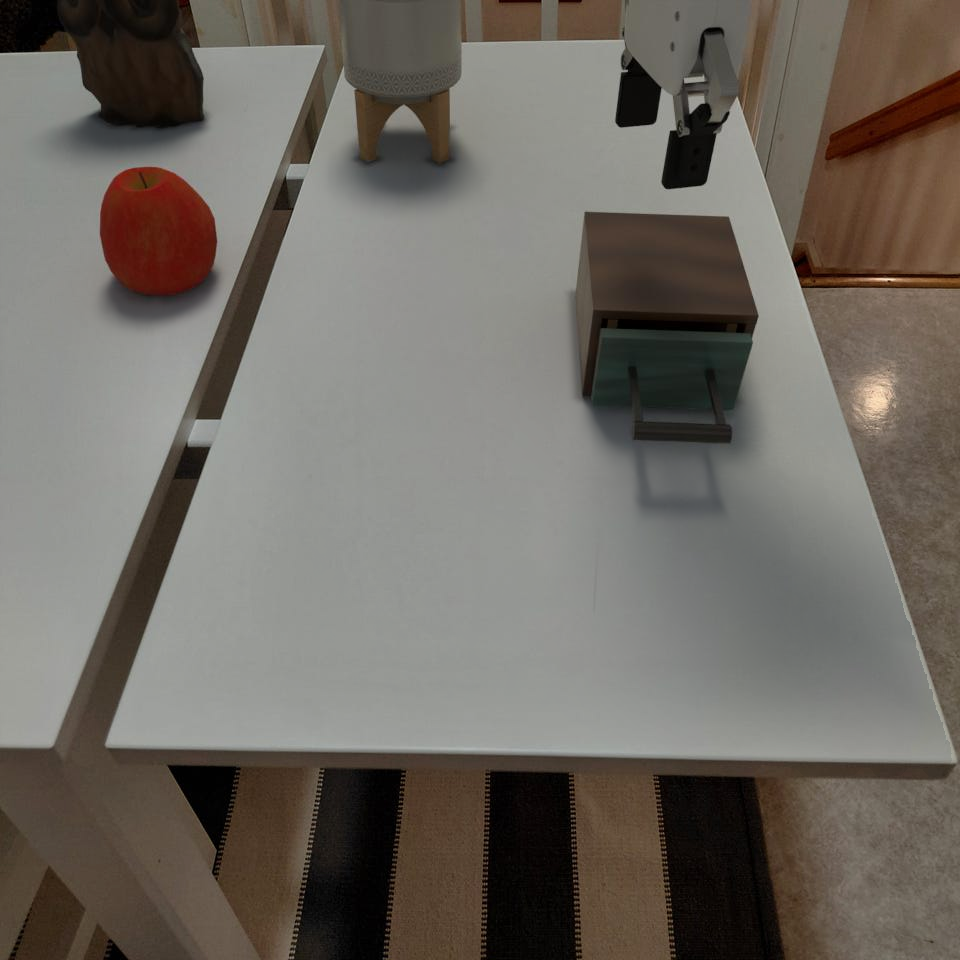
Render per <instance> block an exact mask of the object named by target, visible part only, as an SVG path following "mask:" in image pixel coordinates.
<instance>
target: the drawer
mask: <svg viewBox="0 0 960 960" xmlns="http://www.w3.org/2000/svg"><path fill="white" fill-rule="evenodd" d="M737 325H738V324H737V323H716V322H688V321H659V320H631V319H603V318H602V325H601V329H600V336H599V343H598V350H597V357H596V365H595V372H594V379H593V386H592V393H591V396H590V398H591V405H592V406H609V407H631V411H632V418H633V421H632V423H631V435H630V436H631V440H632V441H636V442H638V441H640V442H662V443H663V442H665V443H666V442H669V443H691V444H692V443H693V444H695V443H696V444H720V445H721V444H722V445H730V444H731V443H732V440H733V426H732V424H730V423H729V424H727V421H726V417H725V411H734V409H735V406H736V402H737V399H738V396H739V392H740V389H741V386H742V382H743V378H744V375H745V372H746V368H747V365H748V361H749V358H750V355H751V351H752V347H753V344H754V341H753V337H752V338H751V334H750V333H735V332H736V329H737ZM643 408H662V409H663V408H664V409H665V408H666V409H667V408H668V409H690V410H691V409H694V410H712V414H713V418H714V422H715V423H703V422H702V423H701V422H699V423H697V422H675V421H674V422H671V421H648V420H647V421H645V420H644V414H643Z"/></svg>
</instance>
